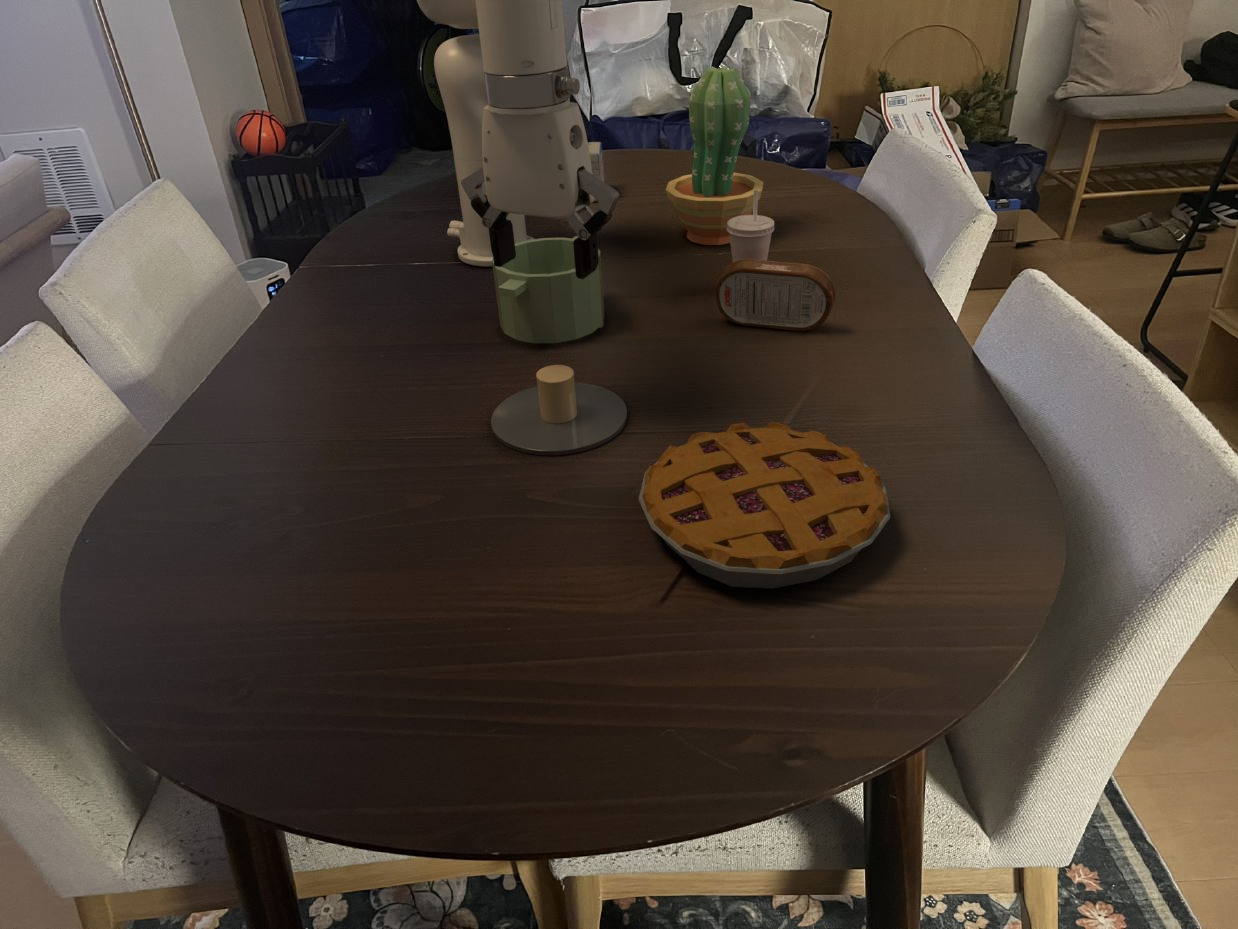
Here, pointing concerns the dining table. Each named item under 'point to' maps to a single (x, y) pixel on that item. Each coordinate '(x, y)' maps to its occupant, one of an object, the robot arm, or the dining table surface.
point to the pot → (547, 293)
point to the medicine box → (596, 160)
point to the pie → (764, 504)
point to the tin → (775, 294)
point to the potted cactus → (715, 159)
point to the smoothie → (750, 235)
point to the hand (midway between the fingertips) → (545, 268)
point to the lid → (558, 415)
